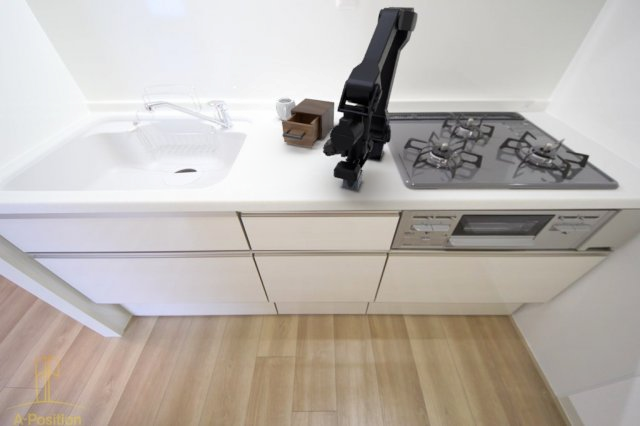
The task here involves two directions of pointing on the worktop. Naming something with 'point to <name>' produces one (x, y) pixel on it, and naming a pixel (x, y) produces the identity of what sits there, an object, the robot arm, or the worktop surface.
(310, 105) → the cabinet
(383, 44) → the robot arm
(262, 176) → the worktop surface
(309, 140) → the drawer
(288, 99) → the mug
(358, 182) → the block
